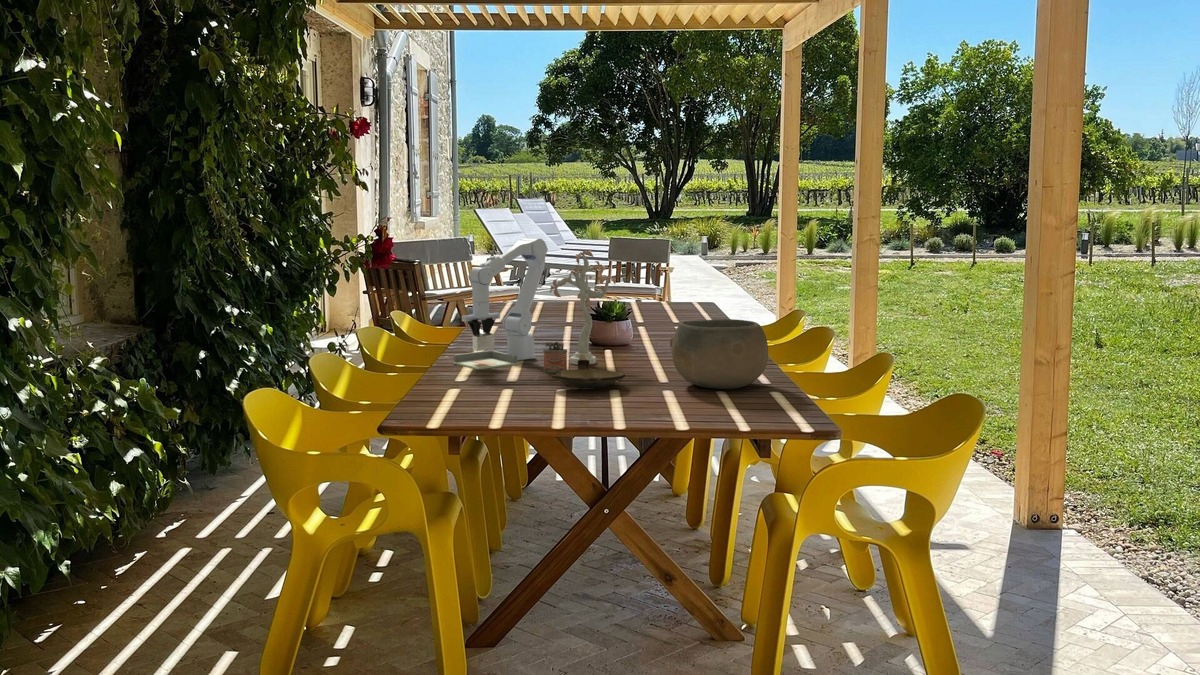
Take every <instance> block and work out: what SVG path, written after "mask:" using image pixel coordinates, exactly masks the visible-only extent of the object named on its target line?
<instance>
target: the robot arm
mask: <svg viewBox="0 0 1200 675" xmlns="http://www.w3.org/2000/svg"><path fill="white" fill-rule="evenodd" d="M548 250H549V249H548V246H547V243H546V241H545V240H544V239H543V238H526V237H522V238H520V240H518V241H516V242H515V244H513V246H511V247H510V248H508V249H507V250H506V251H504V253H502V254H501V255H491V256H489V259H488V260H486V261H485V262H482V263H480V265H479V266H478V267H477V266H476V267H475V266H474V267H473V268H472V269H471V270H470V272H469V275H468V276H467V278H468V280H469V282H470V284H471V285H470V286H471V289H472V296H471V297H472V298H471V299H472V314H467V315H461V322H464V323H467V324H468V326H469V327H470V330H471V332H472V334H473V335H478V334H480V330H481V327H482V330H483V331H486V332H489V333H491V331H492V328H493V326H494V325H495V323H496V322H495V319H498V320H499V319H501V313H500V312H490V284H491V282H492V280H493V277H495V276H496V275H498V274H500V273H501V272H502V271H504V270H505V268H506V265H507V264H508V263H509V262H511V261H514V260H515V259H516V258H518V257H520V256H521V257H522V258H523V260H524V261H525V262H526V263H527V265H528V268H527V271H526V274H525V276H524V279H523V282H522V285H521V288H520V291H519V294H518V296H517V299H516V301H515V305H514V306H513V307H512V308H510V309H509V310H508V313H507V315H506V316H505V317H504V318H503V320H502V328H503V330H504V331H505V334H506V341H507V346H506V348H507V352H506V353H507V354H511V355H516V356H517V361H523V360H524V361H525V360H531V359H536V358H537V357H536V352H535V351H536V350H535V338H534V336H533V334H531V333H530V331H531V330H532V321H533V315H532V314H531V311H530V310H531V307H532V305H533V302H534V299H535V295H536V293H537V290H538V288H539V287H538V286H539V284H540V281H541V279H542V276H543V272H544V269H545V267H546V266H545V265H546V256H547V253H548ZM480 321H481V322H480ZM473 335H472V336H473Z"/></svg>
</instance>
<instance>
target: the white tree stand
mask: <svg viewBox="0 0 1200 675" xmlns="http://www.w3.org/2000/svg"><path fill="white" fill-rule="evenodd" d="M592 252H593V251H592V249H584V250H582V251H581V252H580V253H577V254H576V255H575V258H576V260H575V261H576V263H577V264H576V266H575V267H573V269H568V270H567V271H566V273H568V272H569V274H568V277H564V278H562V279H561V280H559V281H558V278H556V279H553V280H552V285H551V286H550V290H549V293H552V291H553V290H554V291H553V294H554V296H555V297H557V298H561V294H560V292H559V291H558V288H559V287H562V286H564V285H566V284H567V283H569V284H571V285H572V286H574V287H576V288H577V289H578V290H579V292H578V294H577V297H576V298H577V299H580V300H579V301H580V302H579V303H580V307H581V310H582V312H583V315H584V319H585V320H584V322H585V323H584V326H583V328H582V330H581V332H580V333H579V336H578V342H577V351H576V352H575V353H567V356H568V355H572V356H570V357H569V359H570V360H569V363H570V364H571V365H576V366H578V360H580V355H581V354H583V355H584V356H585V357H586V359H587V360H589V366H590V365H595V364H596V363H597V357H596V356H594V355H593V354H592V352H590V351H589V344H590V336H591V331H592V328H593V319H592V316H591V314H590V312H589V310H588V308H591V306H592V304H591V303H592V302H591V300H590V299H603V298H604V296H605V295H606V294H607V291H608V290H609V279H610V280H611V281H612V283H613V284H614V285H616V282H617V281H616V278H615V277H614V276H610V275H608V276H607V275H604V274H603V272H604V269H605V268H604V266H603V263H602V264H600V261H598V260H595V261H594V263H596V264H594V265H593V266H592V267H590V266H589V260H588V258H587V256H589V257H592V258H594V255H593V253H592ZM581 257H582V260H583V266H580V265H581V264H580V259H581ZM599 269H600V274H603V275H602V276H598V277H597V280H598V281H599V284H600V285H598V286H597V287H596V290H598V289H600V290H601V291H600V292H598V291H595V290H592V289H591V287H590V286H589V280H592V278H593V276H591V275H590V274H589V275H587V273H588V272H593V271H596V270H599ZM572 275H573V276H574V277H575V278H574V280H573V279H572ZM557 281H558V282H557ZM604 282H605V284H604V286H603V285H601V284H603V283H604Z"/></svg>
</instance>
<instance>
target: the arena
mask: <svg viewBox="0 0 1200 675" xmlns="http://www.w3.org/2000/svg"><path fill="white" fill-rule="evenodd" d="M453 364H454V365H458V366H462V367H467V368H470V369H475V370H486V369H493V368H500V367H508V366H515V365H518V360H517V356H516V355H511V354H508V352H501V351H497V350H494V349H489V350H482V351H475V352H474V351H473V352H468V353H467V352H466V353H465V352H464V353H457V354H453Z"/></svg>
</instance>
